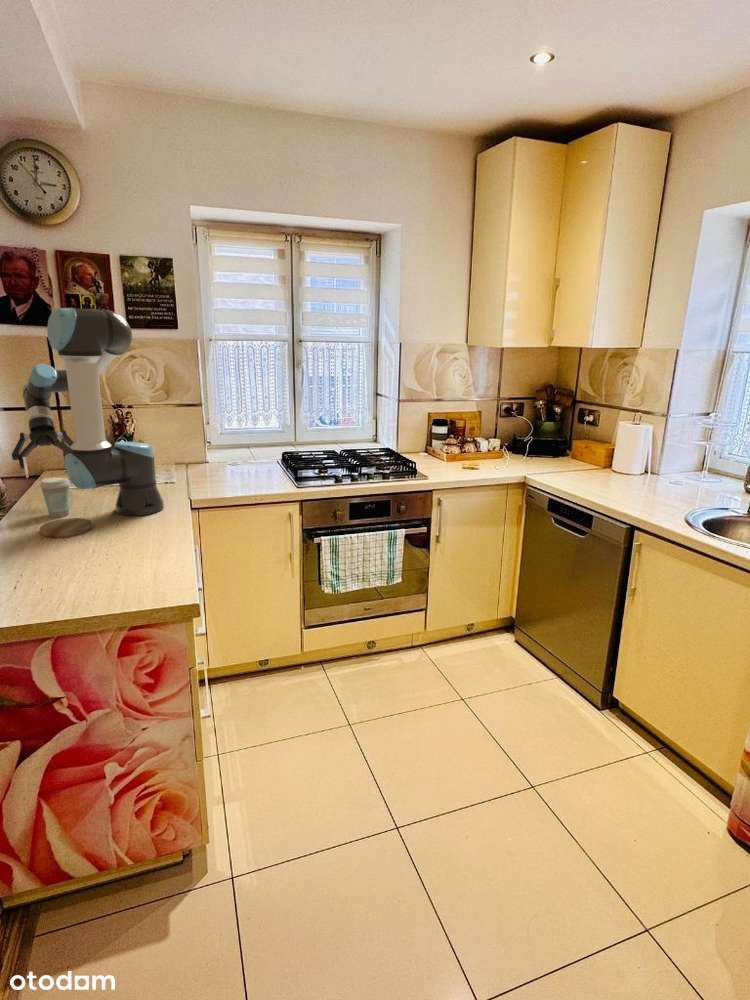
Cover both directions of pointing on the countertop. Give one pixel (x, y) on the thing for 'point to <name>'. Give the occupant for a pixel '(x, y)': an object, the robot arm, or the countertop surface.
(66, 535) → the walnut trivet
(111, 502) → the countertop surface
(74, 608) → the countertop surface
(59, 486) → the coffee cup
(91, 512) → the countertop surface
